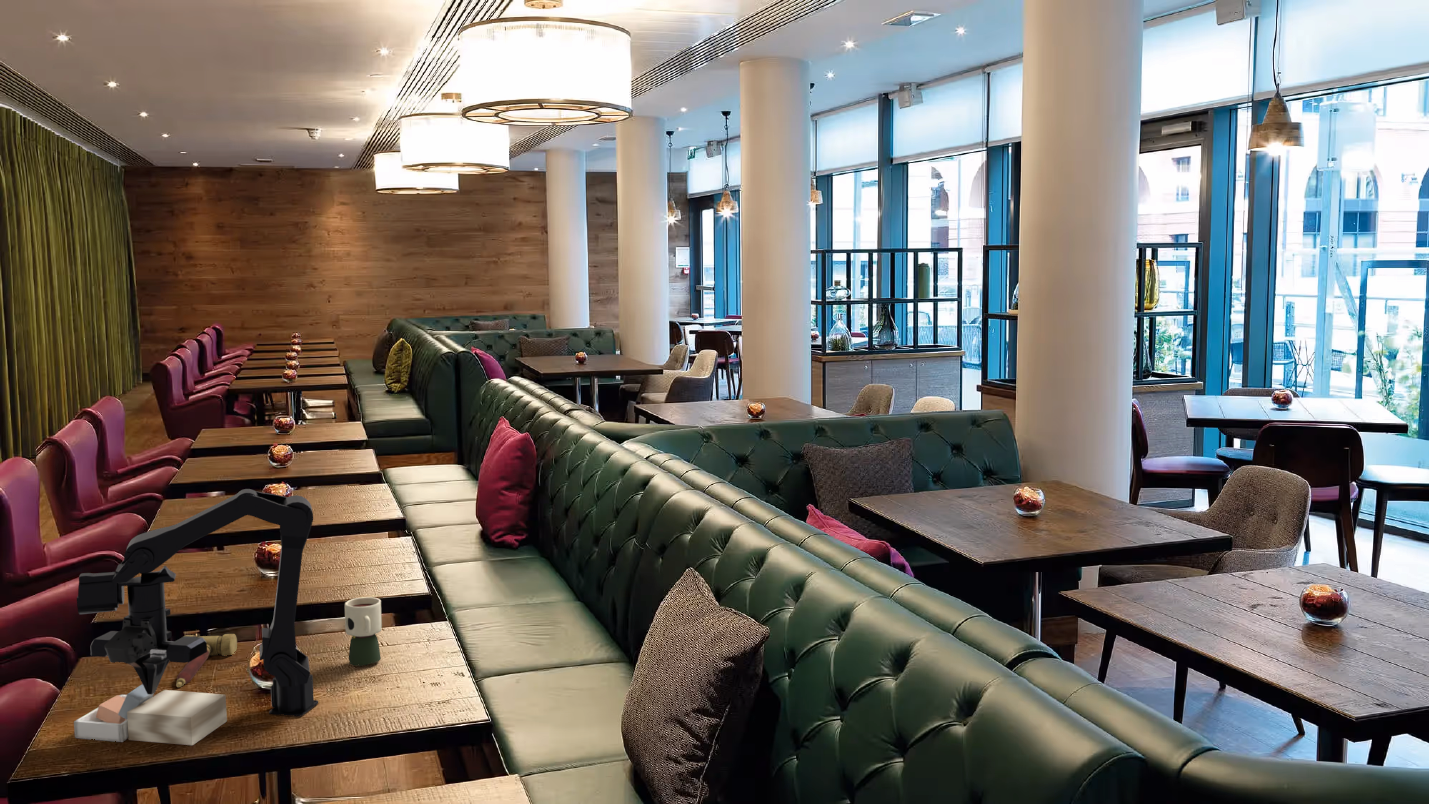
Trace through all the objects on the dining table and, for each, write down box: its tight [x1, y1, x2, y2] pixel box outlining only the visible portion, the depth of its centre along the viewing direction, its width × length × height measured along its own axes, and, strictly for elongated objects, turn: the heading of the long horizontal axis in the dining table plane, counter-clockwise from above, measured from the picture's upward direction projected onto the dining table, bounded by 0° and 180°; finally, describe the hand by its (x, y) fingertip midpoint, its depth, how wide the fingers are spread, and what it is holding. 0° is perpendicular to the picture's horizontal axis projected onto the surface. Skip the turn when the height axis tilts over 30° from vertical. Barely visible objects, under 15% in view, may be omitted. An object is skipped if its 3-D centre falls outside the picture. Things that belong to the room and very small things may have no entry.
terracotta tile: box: [96, 694, 126, 724], centre depth 197 cm, size 4×4×2 cm
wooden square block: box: [127, 689, 228, 746], centre depth 194 cm, size 12×10×5 cm
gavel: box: [175, 633, 238, 688], centre depth 223 cm, size 21×5×10 cm
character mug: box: [344, 596, 382, 667], centre depth 226 cm, size 11×7×13 cm, turn 27°
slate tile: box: [118, 683, 155, 720], centre depth 195 cm, size 4×4×2 cm
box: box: [73, 694, 129, 743], centre depth 196 cm, size 9×12×3 cm
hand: (151, 693), depth 194 cm, fingers closed
